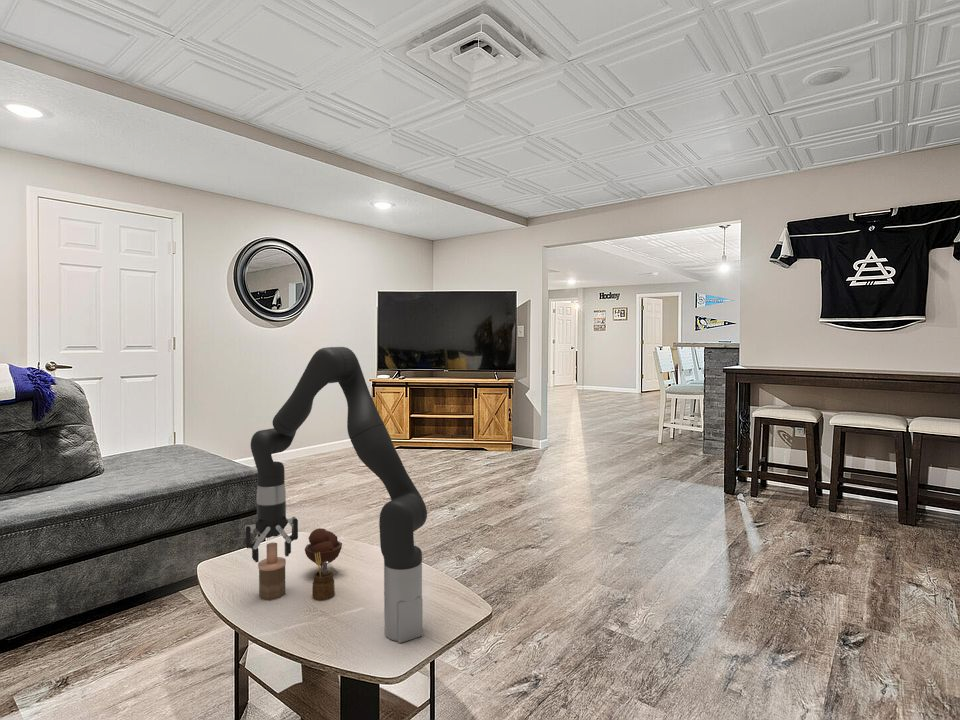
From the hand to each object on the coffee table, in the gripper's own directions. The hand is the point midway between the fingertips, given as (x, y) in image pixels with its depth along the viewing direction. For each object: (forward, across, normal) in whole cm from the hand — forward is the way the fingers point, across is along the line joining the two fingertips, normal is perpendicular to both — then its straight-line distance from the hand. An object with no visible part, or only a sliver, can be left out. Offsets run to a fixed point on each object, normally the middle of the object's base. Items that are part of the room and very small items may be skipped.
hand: (271, 558), depth 150 cm
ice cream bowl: (+11, +16, +6) cm, 20 cm away
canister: (+11, 0, 0) cm, 11 cm away
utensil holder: (+11, +12, -8) cm, 18 cm away
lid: (+2, 0, 0) cm, 2 cm away
